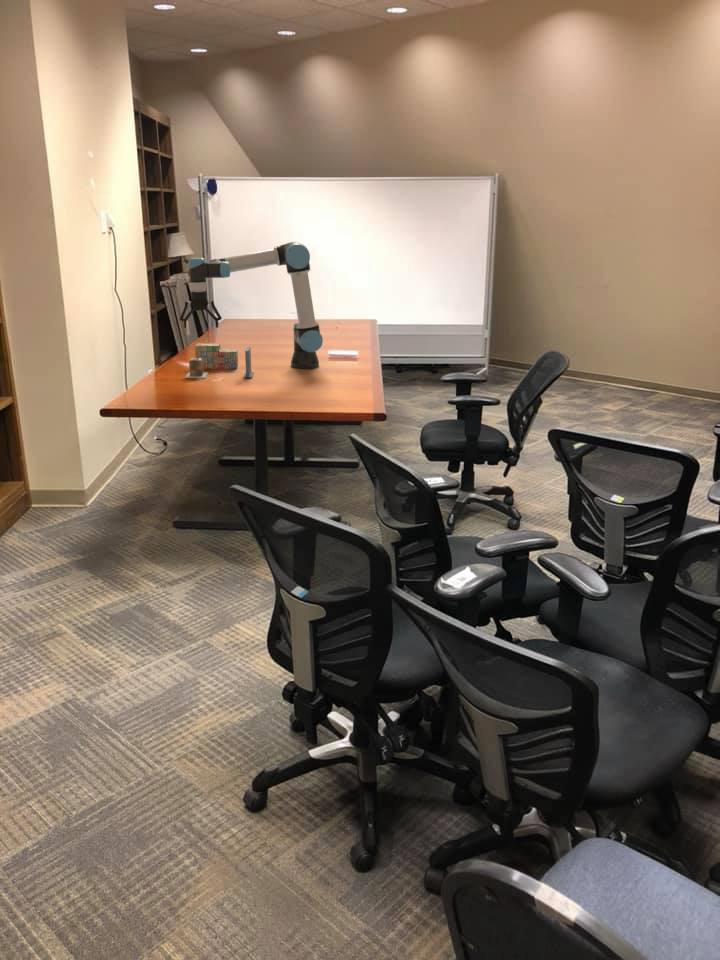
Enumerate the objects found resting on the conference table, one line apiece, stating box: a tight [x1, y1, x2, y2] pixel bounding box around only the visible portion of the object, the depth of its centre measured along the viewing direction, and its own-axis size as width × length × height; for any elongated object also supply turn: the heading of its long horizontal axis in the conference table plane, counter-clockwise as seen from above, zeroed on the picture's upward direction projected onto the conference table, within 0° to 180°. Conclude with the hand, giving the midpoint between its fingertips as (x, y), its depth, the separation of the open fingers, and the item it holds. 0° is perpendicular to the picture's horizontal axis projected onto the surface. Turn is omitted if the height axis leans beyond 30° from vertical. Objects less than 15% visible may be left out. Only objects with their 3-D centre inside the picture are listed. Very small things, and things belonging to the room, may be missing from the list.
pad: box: [184, 371, 209, 380], centre depth 384 cm, size 10×12×1 cm
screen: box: [243, 345, 255, 380], centre depth 383 cm, size 4×12×14 cm, turn 3°
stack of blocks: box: [194, 343, 239, 370], centre depth 402 cm, size 21×6×12 cm, turn 91°
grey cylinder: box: [188, 357, 205, 376], centre depth 383 cm, size 6×6×8 cm
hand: (202, 334), depth 379 cm, fingers open, 13 cm apart
